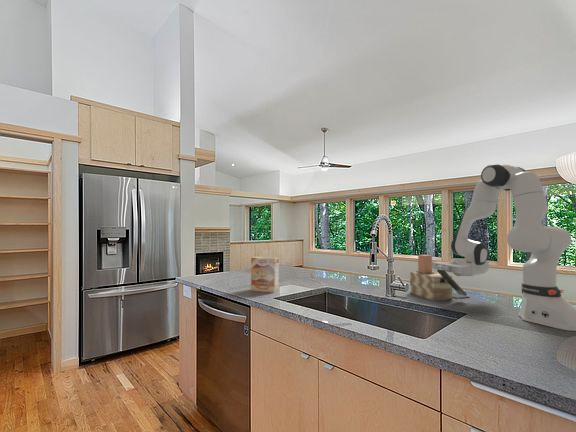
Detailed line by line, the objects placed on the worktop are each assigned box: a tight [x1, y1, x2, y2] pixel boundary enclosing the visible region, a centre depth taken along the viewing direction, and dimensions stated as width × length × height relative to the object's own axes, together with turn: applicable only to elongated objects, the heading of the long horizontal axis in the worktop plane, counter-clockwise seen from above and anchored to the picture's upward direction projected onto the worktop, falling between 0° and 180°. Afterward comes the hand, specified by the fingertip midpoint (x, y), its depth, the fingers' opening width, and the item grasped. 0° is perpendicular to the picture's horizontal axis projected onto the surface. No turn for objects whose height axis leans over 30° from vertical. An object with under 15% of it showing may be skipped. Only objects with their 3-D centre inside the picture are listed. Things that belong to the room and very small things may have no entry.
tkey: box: [436, 269, 468, 296], centre depth 160 cm, size 8×2×19 cm
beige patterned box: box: [409, 270, 453, 301], centre depth 172 cm, size 18×12×13 cm, turn 18°
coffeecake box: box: [250, 256, 280, 294], centre depth 183 cm, size 15×7×20 cm, turn 71°
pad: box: [452, 292, 470, 300], centre depth 171 cm, size 9×9×1 cm
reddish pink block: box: [417, 254, 433, 273], centre depth 176 cm, size 5×5×10 cm
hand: (438, 268), depth 156 cm, fingers closed, pressing on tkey
